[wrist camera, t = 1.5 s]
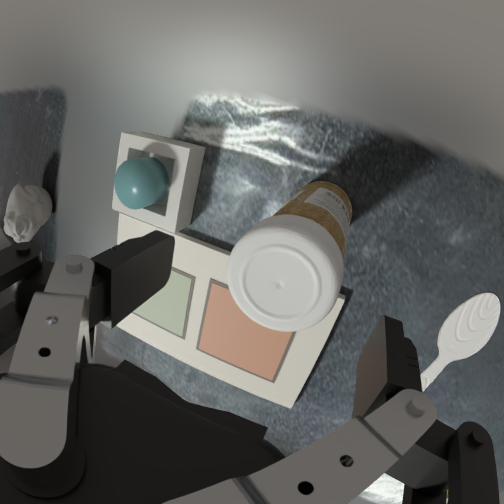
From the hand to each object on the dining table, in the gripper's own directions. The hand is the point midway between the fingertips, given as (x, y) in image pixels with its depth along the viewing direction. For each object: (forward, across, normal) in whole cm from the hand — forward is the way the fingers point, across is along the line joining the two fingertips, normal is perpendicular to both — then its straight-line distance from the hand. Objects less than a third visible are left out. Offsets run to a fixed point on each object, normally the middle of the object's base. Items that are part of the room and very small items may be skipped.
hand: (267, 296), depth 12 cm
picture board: (+14, +7, +13) cm, 20 cm away
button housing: (+14, +14, +1) cm, 20 cm away
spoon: (+15, -15, +10) cm, 23 cm away
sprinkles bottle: (+14, 0, 0) cm, 15 cm away
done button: (+12, +14, +1) cm, 18 cm away
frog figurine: (+15, +31, +9) cm, 35 cm away
